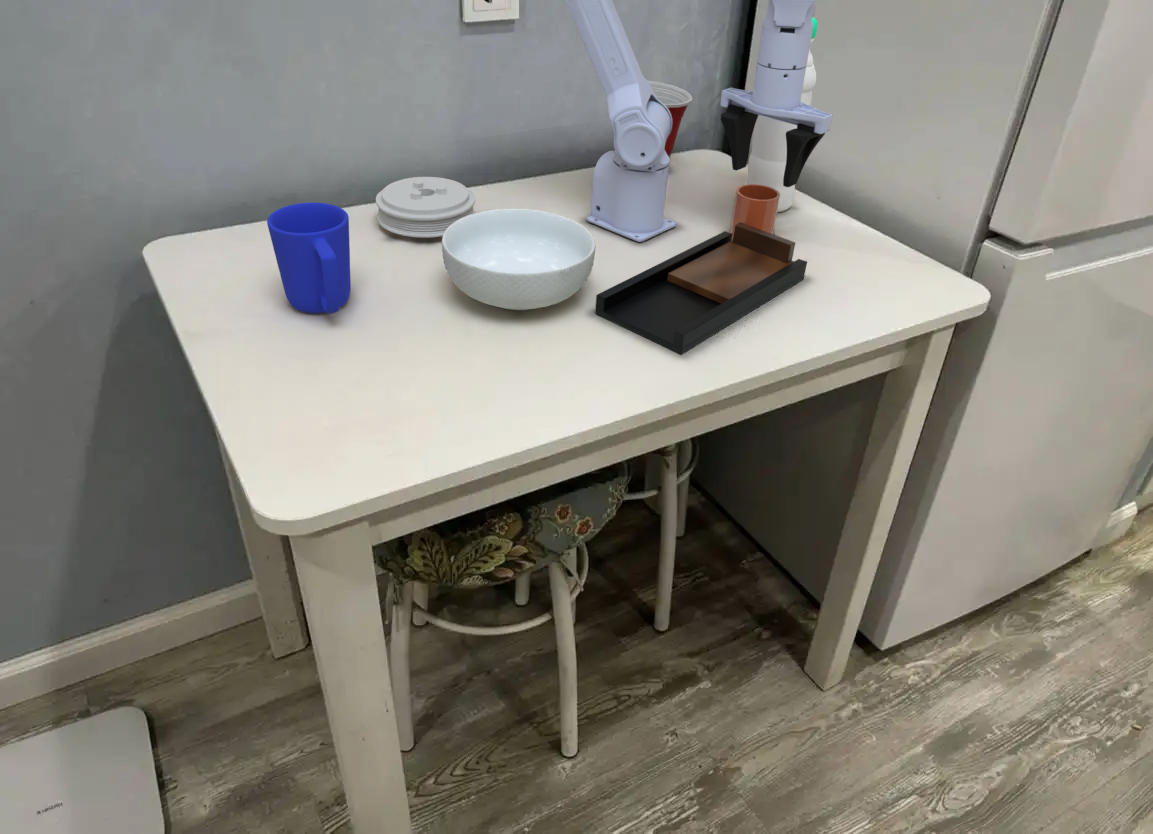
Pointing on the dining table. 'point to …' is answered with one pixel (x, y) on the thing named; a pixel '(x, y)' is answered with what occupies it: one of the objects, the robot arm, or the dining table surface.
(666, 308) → the slide rail
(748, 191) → the cup
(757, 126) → the water bottle
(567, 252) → the cereal bowl
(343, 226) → the mug
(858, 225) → the dining table surface
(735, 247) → the slide
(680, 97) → the plastic cup
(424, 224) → the lid
